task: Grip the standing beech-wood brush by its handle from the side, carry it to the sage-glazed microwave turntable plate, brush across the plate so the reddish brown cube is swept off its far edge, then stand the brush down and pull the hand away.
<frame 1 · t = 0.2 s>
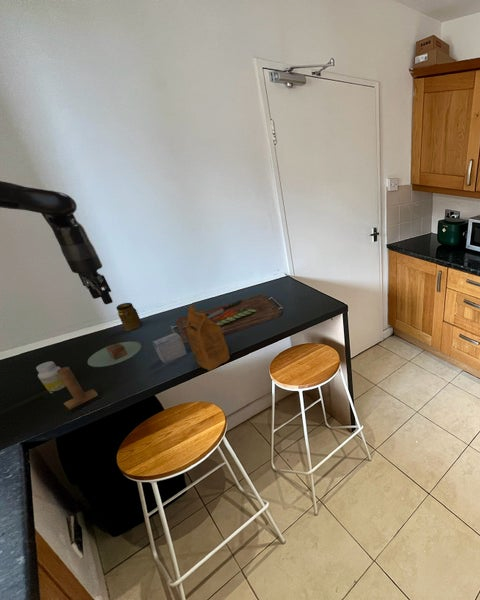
hand: (103, 300, 108), 25 cm above the countertop, tool pointing down, fingers open, 8 cm apart
chopping board: (230, 318, 146), on the countertop
supplement bottle: (60, 388, 105), on the countertop
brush: (84, 404, 98), on the countertop
medicine box: (174, 357, 119), on the countertop
reddish brown cube: (119, 355, 119), point 1 cm above the countertop, touching turntable plate
turntable plate: (116, 355, 120), on the countertop
condiment: (137, 328, 138), on the countertop
coffee package: (213, 361, 118), on the countertop
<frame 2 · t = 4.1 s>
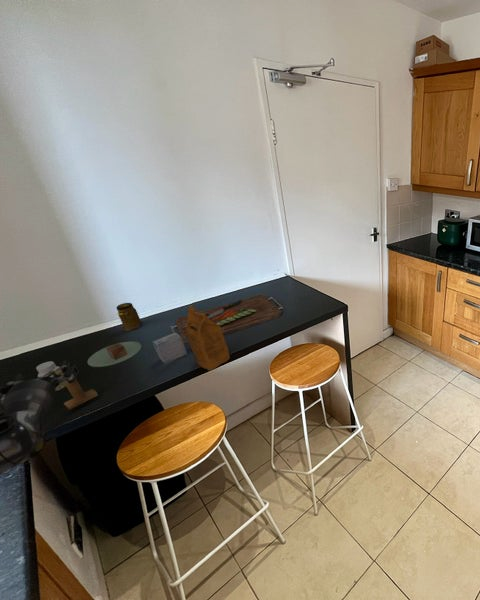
hand: (43, 370, 82), 20 cm above the countertop, tool horizontal, fingers open, 8 cm apart
nothing on the countertop moved.
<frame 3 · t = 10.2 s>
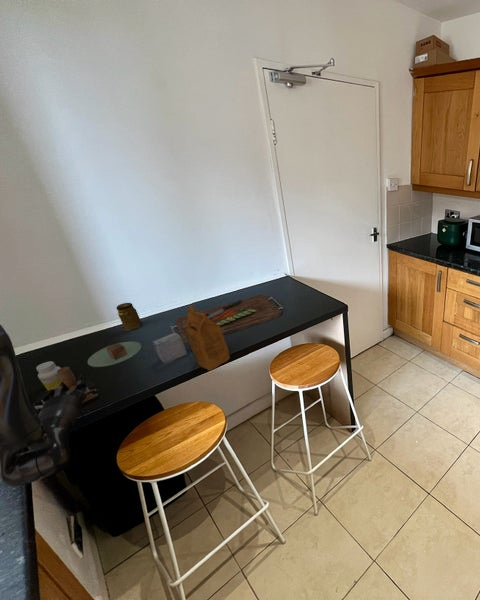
hand: (74, 379, 97), 8 cm above the countertop, tool horizontal, fingers closed on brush, 2 cm apart
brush: (84, 404, 98), on the countertop, touching gripper
everything else where it was.
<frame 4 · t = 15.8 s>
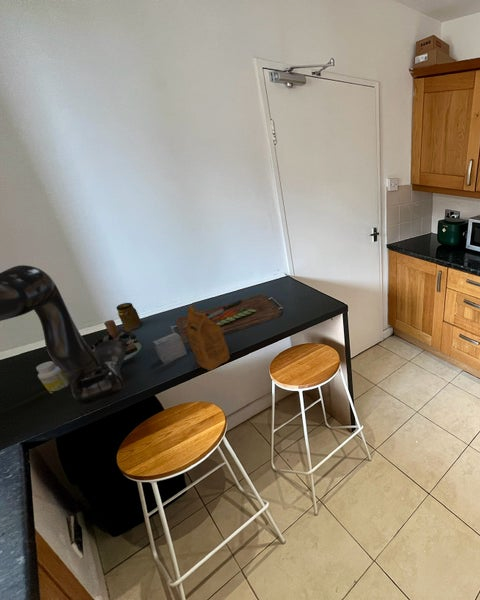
hand: (117, 332, 113), 12 cm above the countertop, tool horizontal, fingers closed on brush, 2 cm apart
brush: (125, 354, 114), point 4 cm above the countertop, touching gripper
everything else where it was.
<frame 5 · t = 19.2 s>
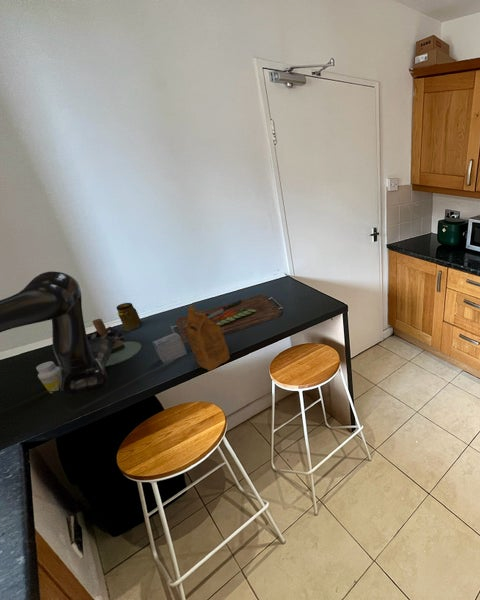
hand: (105, 330, 119), 9 cm above the countertop, tool horizontal, fingers closed on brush, 2 cm apart
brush: (112, 351, 121), point 1 cm above the countertop, touching reddish brown cube, gripper
reddish brown cube: (110, 348, 123), point 1 cm above the countertop, touching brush
everything else where it was.
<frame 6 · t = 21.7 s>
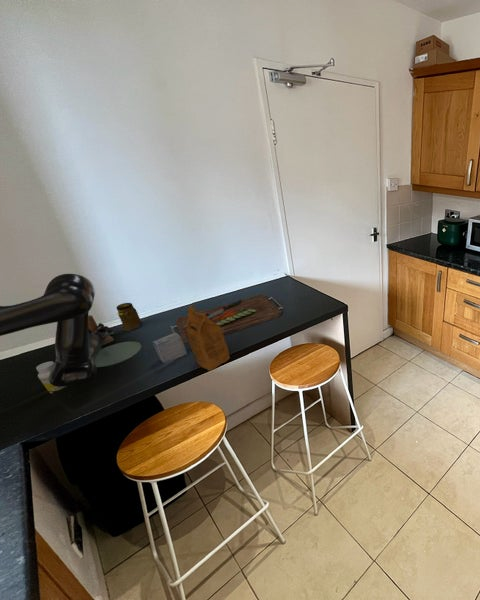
hand: (96, 326, 123), 8 cm above the countertop, tool horizontal, fingers closed on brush, 2 cm apart
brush: (103, 346, 125), on the countertop, touching gripper
reddish brown cube: (102, 344, 127), on the countertop
everything else where it was.
when the fingers open (8 cm above the countertop, at t = 21.8 s): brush stays where it is, on the countertop.
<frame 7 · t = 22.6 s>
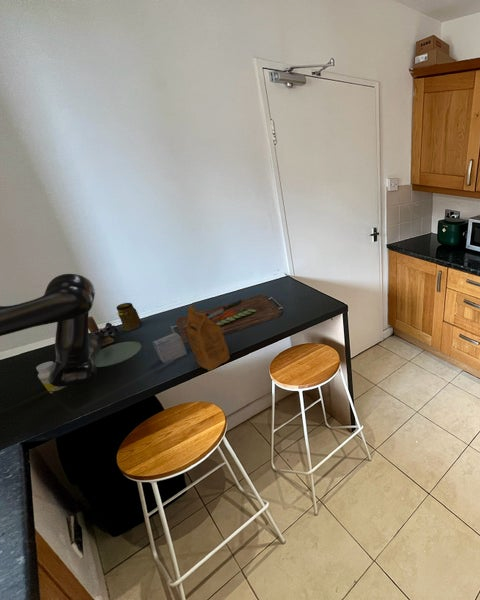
hand: (95, 327, 123), 8 cm above the countertop, tool horizontal, fingers open, 8 cm apart
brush: (103, 347, 125), on the countertop
everything else where it was.
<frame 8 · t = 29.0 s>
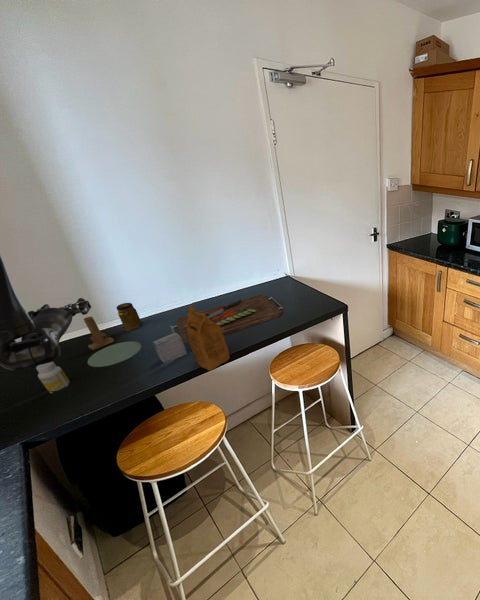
hand: (65, 303, 105), 25 cm above the countertop, tool horizontal, fingers open, 8 cm apart
nothing on the countertop moved.
at the end: reddish brown cube inside the target area on the countertop beside the turntable plate (2.1 cm from its centre), on the countertop; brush tilted 0°; the gripper is holding nothing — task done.
